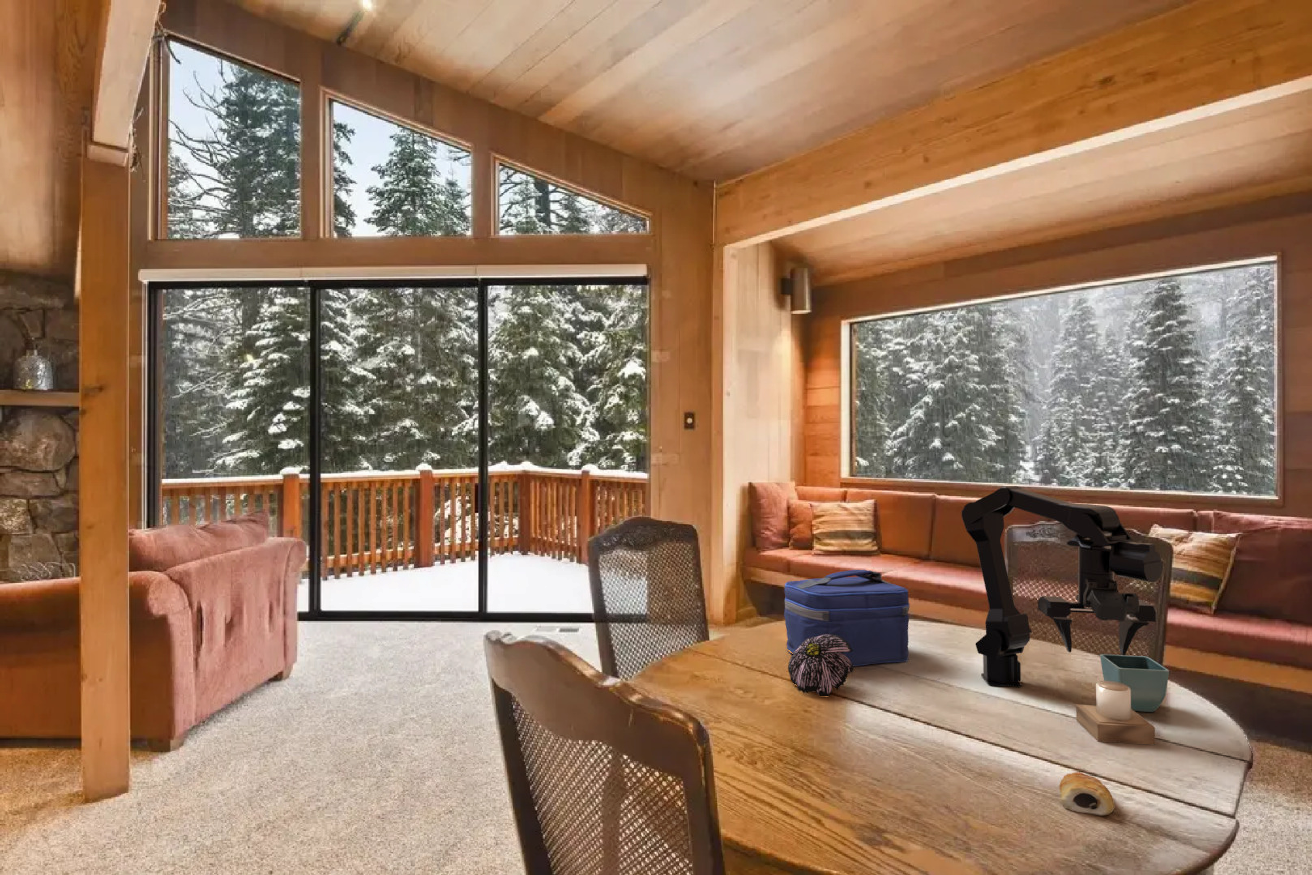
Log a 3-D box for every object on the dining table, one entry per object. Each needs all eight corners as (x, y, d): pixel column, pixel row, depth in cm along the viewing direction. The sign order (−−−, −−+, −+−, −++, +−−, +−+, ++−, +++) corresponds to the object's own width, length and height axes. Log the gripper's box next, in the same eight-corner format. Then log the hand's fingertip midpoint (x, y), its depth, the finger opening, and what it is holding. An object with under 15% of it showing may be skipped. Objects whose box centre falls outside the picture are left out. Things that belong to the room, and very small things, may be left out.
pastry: (1058, 781, 107) (1057, 757, 107) (1109, 791, 103) (1109, 766, 103) (1060, 810, 98) (1060, 784, 98) (1116, 822, 95) (1116, 795, 95)
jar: (1091, 708, 127) (1090, 679, 127) (1122, 709, 126) (1121, 680, 126) (1104, 719, 121) (1103, 689, 122) (1137, 720, 121) (1136, 690, 121)
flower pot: (1171, 717, 129) (1170, 670, 129) (1119, 714, 131) (1118, 667, 131) (1148, 700, 138) (1147, 655, 138) (1099, 697, 140) (1098, 653, 140)
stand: (1097, 741, 120) (1097, 723, 120) (1076, 720, 129) (1076, 703, 129) (1155, 744, 118) (1154, 726, 118) (1129, 723, 127) (1129, 706, 127)
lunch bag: (880, 637, 185) (879, 561, 185) (931, 660, 165) (929, 575, 165) (775, 648, 177) (774, 568, 177) (815, 674, 157) (813, 584, 157)
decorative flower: (768, 639, 151) (822, 613, 156) (773, 681, 155) (826, 653, 161) (810, 676, 138) (867, 646, 144) (814, 720, 143) (870, 689, 148)
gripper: (1057, 579, 125) (1057, 664, 125) (1173, 583, 121) (1173, 671, 121) (1037, 567, 136) (1037, 645, 136) (1142, 570, 132) (1142, 651, 132)
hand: (1095, 653), depth 131 cm, fingers open, 9 cm apart
